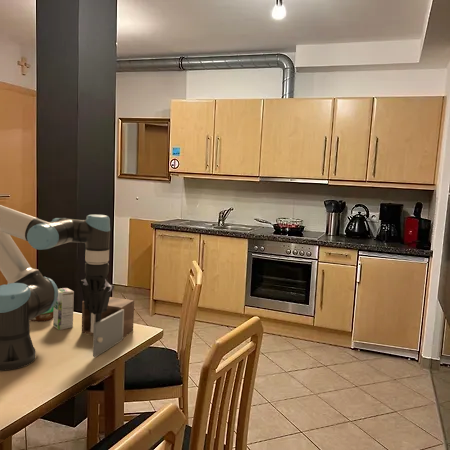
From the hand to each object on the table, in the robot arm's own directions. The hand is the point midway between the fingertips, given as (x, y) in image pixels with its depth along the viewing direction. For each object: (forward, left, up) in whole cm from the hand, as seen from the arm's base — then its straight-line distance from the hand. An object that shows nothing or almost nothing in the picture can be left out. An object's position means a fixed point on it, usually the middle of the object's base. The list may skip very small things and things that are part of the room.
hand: (95, 331), depth 151 cm
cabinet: (-6, +18, -7) cm, 20 cm away
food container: (-35, +20, -8) cm, 41 cm away
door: (+3, +4, -7) cm, 9 cm away
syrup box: (-24, +16, -8) cm, 30 cm away
